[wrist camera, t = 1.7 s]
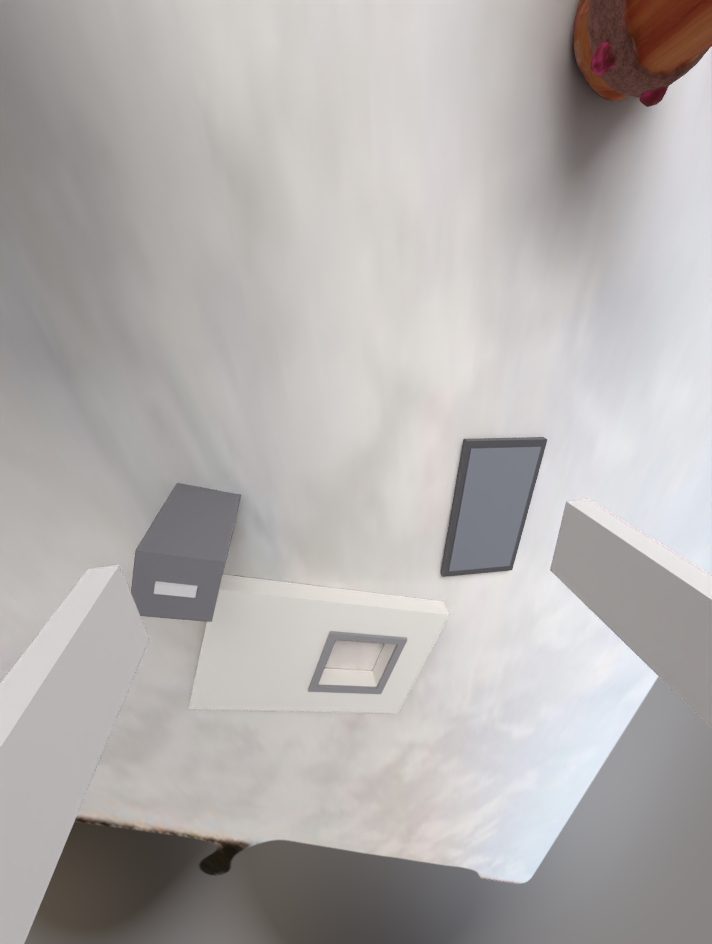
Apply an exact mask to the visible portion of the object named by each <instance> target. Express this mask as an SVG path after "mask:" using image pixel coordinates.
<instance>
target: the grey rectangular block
mask: <svg viewBox="0 0 712 944" xmlns="http://www.w3.org/2000/svg"><path fill="white" fill-rule="evenodd" d="M240 496H241V495H239V494H233V493H228V492H222V491H217V490H212V489H206V488H201V487H195V486H190V485H185V484H179V483H177V484H176V486H175V488H174V489H173V491H172V492H171V494H170V496H169V497H168V499H167V500H166V502H165V504H164V505H163V507H162V509H161V510H160V512H159V513H158V515H157V517H156V518H155V520H154V521H153V523H152V525H151V526H150V528H149V530H148V531H147V533H146V534H145V536H144V538H143V539H142V541H141V542H140V544H139V546H138V547H137V549H136V552H135V561H134V570H133V579H132V588H131V594H132V597H133V599H134V602H135V604H136V607H137V609H138V612H139V614H140V616H148V617H160V618H171V619H183V620H195V621H207V622H212V619H213V615H214V610H215V606H216V602H217V598H218V593H219V589H220V585H221V580H222V576H223V572H224V567H225V563H226V559H227V554H228V550H229V546H230V541H231V537H232V532H233V528H234V523H235V519H236V514H237V510H238V505H239V501H240Z"/></svg>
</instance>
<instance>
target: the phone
mask: <svg viewBox="0 0 712 944" xmlns="http://www.w3.org/2000/svg"><path fill="white" fill-rule="evenodd" d="M546 442H547V439H546V438H544V437H531V438H484V439H464V440H463V446H462V452H461V458H460V463H459V469H458V475H457V481H456V487H455V492H454V498H453V504H452V510H451V515H450V521H449V527H448V533H447V539H446V544H445V550H444V556H443V562H442V568H441V574H442V576H443V577H444V576H455V575H466V574H476V573H487V572H497V571H508V570H512V568H513V565H514V561H515V557H516V553H517V550H518V546H519V542H520V539H521V535H522V531H523V527H524V524H525V520H526V516H527V513H528V509H529V505H530V502H531V498H532V494H533V490H534V487H535V483H536V479H537V476H538V472H539V468H540V464H541V461H542V457H543V453H544V450H545V446H546Z"/></svg>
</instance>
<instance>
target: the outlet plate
mask: <svg viewBox="0 0 712 944" xmlns="http://www.w3.org/2000/svg"><path fill="white" fill-rule="evenodd" d="M449 616H450V614H449V612H448V610H447V609H446V607H445V605H444V603H443V601H437V600H429V599H421V598H413V597H404V596H396V595H388V594H380V593H372V592H363V591H355V590H347V589H339V588H331V587H322V586H314V585H306V584H298V583H289V582H281V581H273V580H265V579H257V578H248V577H240V576H232V575H224V574H223V576H222V580H221V585H220V589H219V593H218V598H217V602H216V606H215V610H214V615H213V619H212V622H207V623H206V628H205V632H204V637H203V642H202V647H201V651H200V656H199V661H198V665H197V670H196V675H195V679H194V684H193V689H192V694H191V698H190V703H189V708H188V710H244V711H300V712H356V713H399V711H400V709H401V707H402V705H403V703H404V702H405V700H406V698H407V696H408V694H409V692H410V690H411V688H412V686H413V684H414V682H415V681H416V679H417V677H418V675H419V673H420V671H421V669H422V667H423V665H424V663H425V661H426V660H427V658H428V656H429V654H430V652H431V650H432V648H433V646H434V644H435V642H436V640H437V639H438V637H439V635H440V633H441V631H442V629H443V627H444V625H445V623H446V621H447V619H448V618H449ZM335 640H344V641H357V642H370V643H383V644H385V645H384V647H383V649H382V651H381V653H380V655H379V658H378V660H377V662H376V664H375V666H374V669H373V671H366V670H347V669H329V668H325V666H326V663H327V661H328V658H329V656H330V653H331V651H332V648H333V645H334V643H335Z"/></svg>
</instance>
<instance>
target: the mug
mask: <svg viewBox="0 0 712 944" xmlns="http://www.w3.org/2000/svg"><path fill="white" fill-rule="evenodd" d="M573 40H574V52H575V59H576V62H577V64H578V67H579V69H580V70H581V72H582V73H583V75H584V77H585V79H586V81H587V83H588V84H589V85H590V86H591V87H592V89H593V90H594V91H595V92H596V93H597V94H598V95H600V96H601V97H603V98H605V99H608V100H612V101H620V100H622V99H624V98H626V97H628V96H633V97H640V102H642V103H643V104H644V105H645V106H647V107H648V106H652V105H656V104H657V103H659V102H660V101H661V100H662V98H663V97H664V95H665V93H666V91H667V88H668V86H669V85H670V84H672V83H673V82H675V81H676V80H677V79H679V78H680V77H682V76H683V75H684V74H686V73H687V72H688V71H689V70H690V69H691V68H693V67H694V66H695V65H696V64H697V63H698V62H699V60H700V59H701V58H702V57H703V55H704V54H705V53H706V52H707V51H708V49H709V48H710V47H711V46H712V0H579V4H578V9H577V13H576V17H575V21H574V39H573Z"/></svg>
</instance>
